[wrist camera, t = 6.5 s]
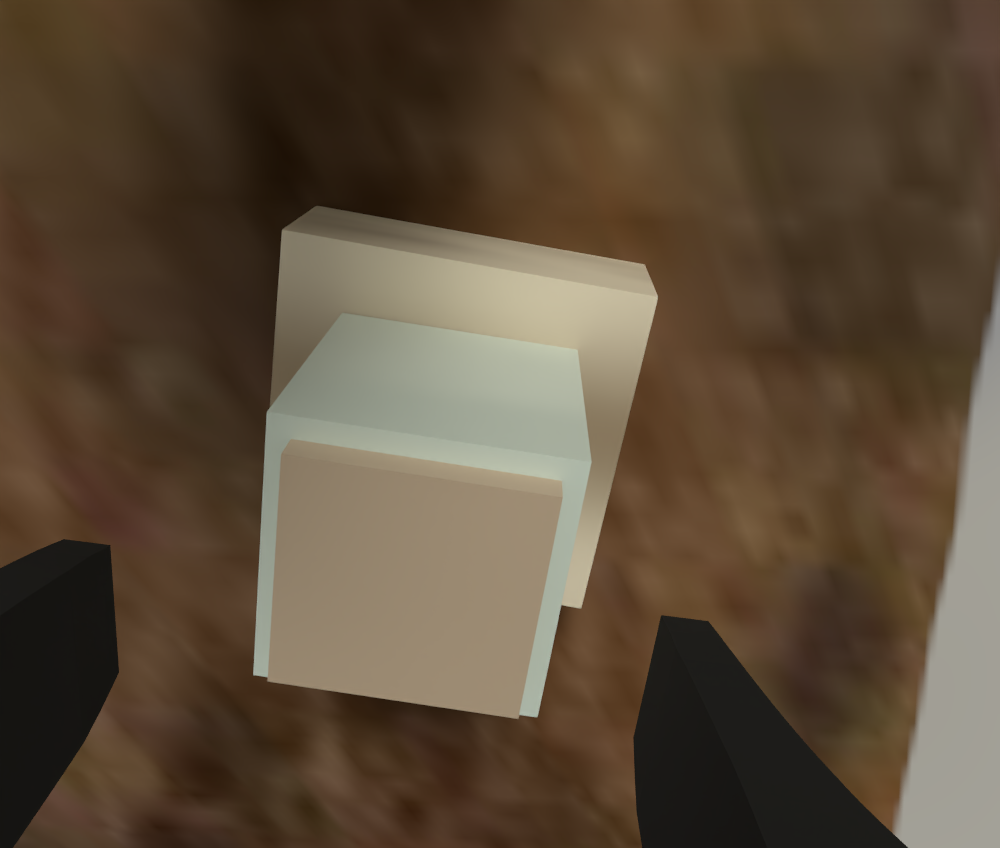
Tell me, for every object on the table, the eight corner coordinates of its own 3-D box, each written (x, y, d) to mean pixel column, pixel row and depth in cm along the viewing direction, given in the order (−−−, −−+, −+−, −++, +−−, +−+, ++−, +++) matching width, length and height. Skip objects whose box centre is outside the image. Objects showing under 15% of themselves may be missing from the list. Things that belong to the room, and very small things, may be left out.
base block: (577, 537, 22) (581, 608, 19) (296, 488, 22) (259, 552, 19) (642, 260, 19) (658, 296, 16) (321, 202, 19) (282, 229, 16)
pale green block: (538, 552, 19) (536, 739, 13) (325, 519, 18) (243, 696, 13) (577, 349, 17) (593, 478, 12) (341, 312, 17) (256, 426, 12)
